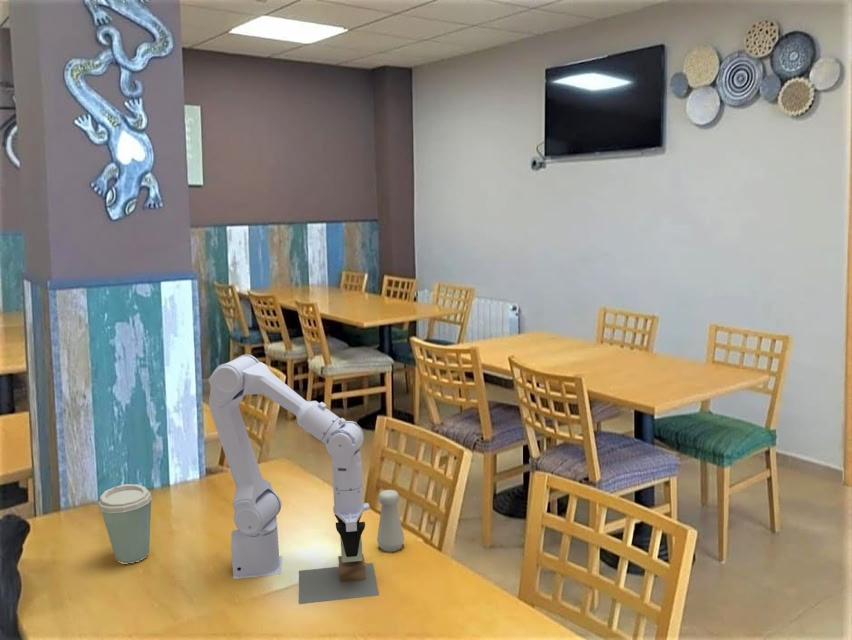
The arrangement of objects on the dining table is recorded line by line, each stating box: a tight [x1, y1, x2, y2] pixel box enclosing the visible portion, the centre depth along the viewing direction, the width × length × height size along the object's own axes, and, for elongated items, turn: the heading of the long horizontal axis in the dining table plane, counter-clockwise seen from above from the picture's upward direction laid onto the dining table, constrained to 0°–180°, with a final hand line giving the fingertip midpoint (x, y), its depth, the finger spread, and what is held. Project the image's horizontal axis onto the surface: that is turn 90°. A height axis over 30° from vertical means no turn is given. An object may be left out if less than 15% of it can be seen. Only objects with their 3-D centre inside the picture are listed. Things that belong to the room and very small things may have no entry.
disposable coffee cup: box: [97, 483, 153, 563], centre depth 164 cm, size 11×11×15 cm
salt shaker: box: [376, 489, 405, 553], centre depth 165 cm, size 6×6×13 cm
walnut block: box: [337, 553, 366, 582], centre depth 154 cm, size 5×5×3 cm
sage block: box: [339, 535, 364, 563], centre depth 153 cm, size 4×4×4 cm
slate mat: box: [298, 562, 380, 605], centre depth 151 cm, size 15×13×1 cm
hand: (351, 550), depth 153 cm, fingers closed on sage block, 4 cm apart
